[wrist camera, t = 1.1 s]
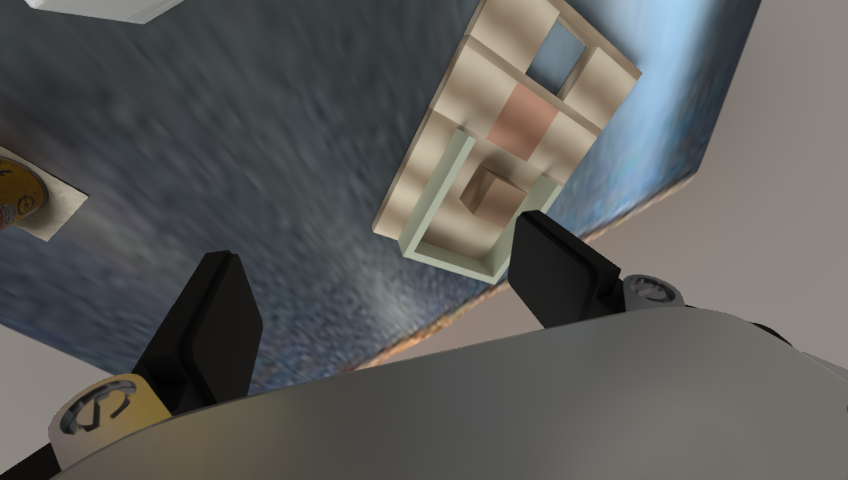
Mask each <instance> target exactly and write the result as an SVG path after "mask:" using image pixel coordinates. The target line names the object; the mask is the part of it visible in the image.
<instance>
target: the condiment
mask: <svg viewBox="0 0 848 480" xmlns="http://www.w3.org/2000/svg"><path fill="white" fill-rule="evenodd" d="M50 192H52V194H50ZM53 196H55V199H54V198H53ZM87 198H88V196H86V195H85V194H83V193H81V192H79V191H77V190H76V189H74V188H73V187H71V186H69V185H66V184H65V183H63V182H62V181H60V180H58V179H57V178H54V177H53V176H51V175H50V174H48V173H46V172H44V171H43V170H41V169H40V168H38V167H36V166H35V165H33V164H31V163H30V162H28V161H26V160H24V159H22V158H21V157H19V156H17V155H16V154H14V153H12V152H10V151H9V150H7V149H5V148H3V147H1V146H0V230H2V229H4V228H6V227H8V226H10V225H11V224H13V225H15V226H16V227H19V228H21V229H23V230H25V231H27V232H29V233H31V234H32V235H34V236H36V237H38V238H41V239H43V240H45V241H48V240H49V239H50V238H51V237H52V236H53V235H54V234H55V233H56V232H57V231H58V230H59V229H60V227H62V226H63V224H64V223H65V222H66V221H67V220H68V219H69V218H70V217H71V216H72V215H73V214H74V212H75V211H76V210H77V209H78V208H79V207H80V206H81V205H82V203H83V202H84V201H85V200H86V199H87Z"/></svg>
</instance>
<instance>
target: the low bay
mask: <svg viewBox="0 0 848 480" xmlns="http://www.w3.org/2000/svg"><path fill="white" fill-rule="evenodd" d="M475 142H476V139H474V138H473V137H471V136H469V135H468V134H466V133H465V132H463V131H461V130H459V129H457V128H456V130H455V132H454V134H453V136H452V138H451V140H450V141H449V143H448V145H447V147H446V149H445V151H444V153H443V155H442V157H441V159H440V160H439V162H438V164H437V166H436V168H435V170H434V172H433V174H432V176H431V177H430V179H429V181H428V183H427V185H426V187H425V189H424V191H423V193H422V194H421V196H420V198H419V200H418V202H417V204H416V206H415V208H414V210H413V212H412V213H411V215H410V217H409V219H408V221H407V223H406V225H405V227H404V229H403V230H402V232H401V234H400V236H399V238H398V243H399V246H400V249H401V252H402V255H403V256H404V257H407V258H410V259H414V260H417V261H420V262H423V263H427V264H430V265H433V266H436V267H439V268H443V269H446V270H449V271H452V272H456V273H459V274H462V275H465V276H468V277H472V278H475V279H478V280H481V281H485V282H488V283H491V284H494V285H495V284H496V283H497V281H498V280H499V278H500V277H501V276H502V274H503V273H504V271H505V270H506V269H507V267H508V266H509V263H510V256H511V249H512V243H513V236H514V229H515V222H516V218H517V217H518V216H520V214H521V213H522V212H523V211H531V210H540V211H541V212H543V213H544V214H545V213H546V212H547V210H548V209H549V208H550V206H551V205H552V203H553V202H554V201H555V199H556V198H557V196H558V195H559V193H560V192H561V191H562V189H563V187H561V186H560V185H558V184H556V183H555V182H553V181H551V180H550V179H548V178H546V177H545V176H543V175H541V174H540V176H539V177H538V179H537V180H536V182H535V183H534V185H533V186H532V188H531V189H530V191H529V192H528V194H527V196H526V197H525V199H524V200H523V202H522V203H521V205H520V206H519V208H518V209H517V211H516V212H515V214H514V215H513V217H512V218H511V220H510V221H509V223H508V224H507V226H506V227H505V229H504V230H503V232H502V233H501V235H500V236H499V238H498V239H497V241H496V242H495V244H494V245H493V247H492V248H491V250H490V251H489V253H488V254H487V256H486V257H485V259H484V260H483V262H481V261H478V260H475V259H472V258H469V257H466V256H464V255H461V254H458V253H455V252H452V251H449V250H446V249H443V248H440V247H437V246H434V245H431V244H429V243H426V242H423V241H420V240H421V238H422V236H423V235H424V233H425V231H426V229H427V227H428V226H429V224H430V222H431V220H432V218H433V217H434V215H435V213H436V211H437V210H438V208H439V206H440V204H441V202H442V201H443V199H444V197H445V195H446V193H447V192H448V190H449V188H450V186H451V185H452V183H453V181H454V179H455V177H456V176H457V174H458V172H459V170H460V168H461V167H462V165H463V163H464V161H465V160H466V158H467V156H468V154H469V152H470V151H471V149H472V147H473V145H474V143H475Z"/></svg>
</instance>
